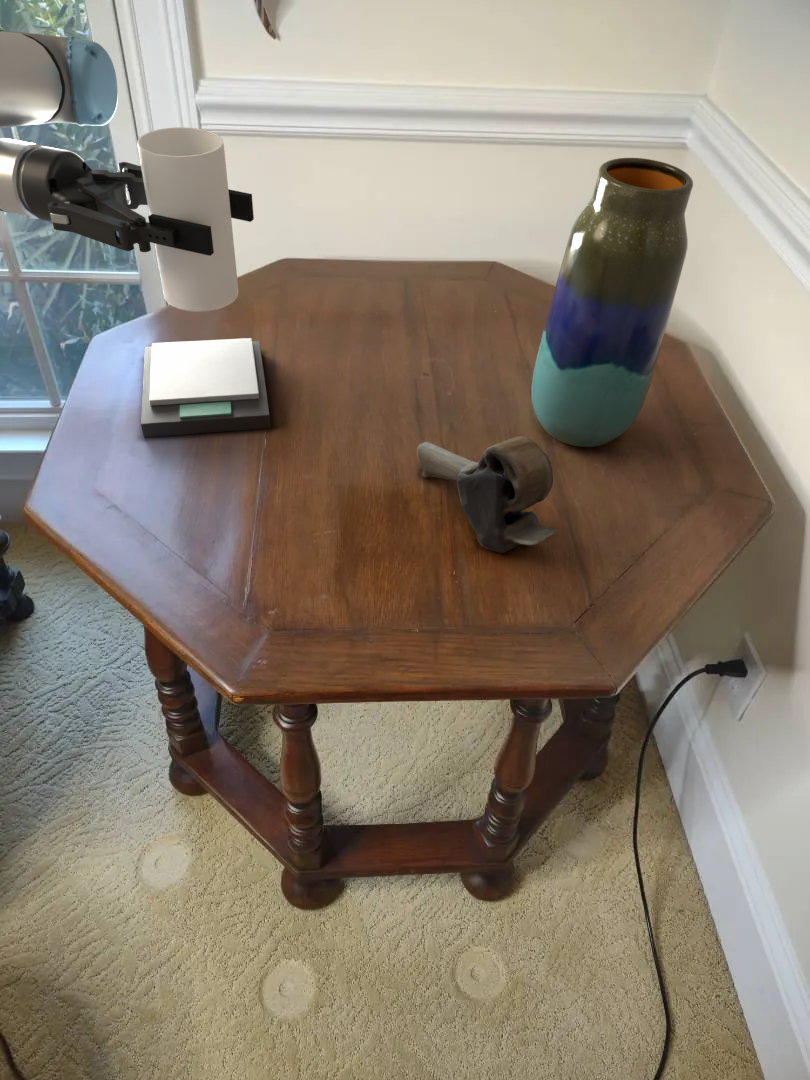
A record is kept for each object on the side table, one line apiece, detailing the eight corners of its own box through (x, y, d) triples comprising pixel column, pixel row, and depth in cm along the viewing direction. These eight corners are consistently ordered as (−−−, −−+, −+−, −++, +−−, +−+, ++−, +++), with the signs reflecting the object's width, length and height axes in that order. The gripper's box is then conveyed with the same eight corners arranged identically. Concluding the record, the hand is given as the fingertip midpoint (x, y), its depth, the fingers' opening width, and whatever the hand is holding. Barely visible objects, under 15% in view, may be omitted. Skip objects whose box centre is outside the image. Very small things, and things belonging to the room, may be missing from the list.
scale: (143, 437, 91) (139, 418, 89) (147, 359, 103) (143, 341, 101) (270, 428, 94) (269, 409, 92) (260, 353, 106) (259, 335, 104)
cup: (253, 295, 87) (240, 144, 75) (193, 319, 82) (169, 163, 71) (209, 269, 90) (190, 121, 79) (149, 291, 86) (119, 138, 75)
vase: (539, 464, 92) (603, 201, 70) (511, 397, 102) (559, 147, 80) (647, 459, 94) (742, 201, 72) (610, 394, 104) (683, 149, 82)
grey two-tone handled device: (402, 471, 90) (407, 387, 82) (442, 454, 93) (450, 371, 84) (519, 582, 79) (538, 498, 70) (560, 559, 81) (584, 475, 73)
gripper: (106, 185, 93) (277, 221, 89) (-13, 256, 79) (184, 303, 75) (92, 118, 88) (273, 153, 84) (-39, 181, 73) (172, 227, 69)
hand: (231, 224), depth 79 cm, fingers closed on cup, 8 cm apart
